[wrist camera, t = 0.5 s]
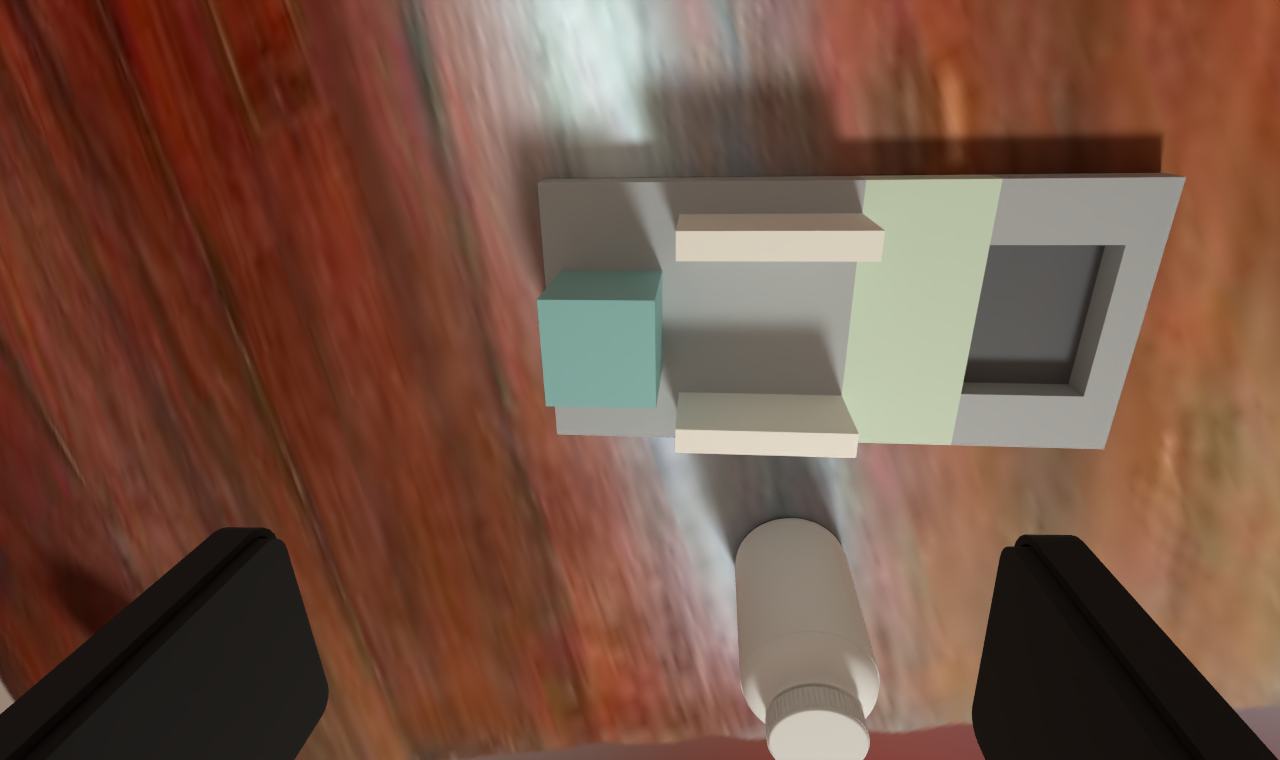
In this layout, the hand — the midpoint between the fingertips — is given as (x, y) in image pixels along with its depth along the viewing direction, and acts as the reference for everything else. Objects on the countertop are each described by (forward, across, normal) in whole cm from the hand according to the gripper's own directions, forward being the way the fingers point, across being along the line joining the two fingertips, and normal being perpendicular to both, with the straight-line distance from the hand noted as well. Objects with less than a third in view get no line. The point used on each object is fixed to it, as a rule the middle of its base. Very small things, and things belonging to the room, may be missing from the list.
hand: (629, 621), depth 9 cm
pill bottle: (+34, -7, +24) cm, 42 cm away
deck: (+33, -8, +5) cm, 34 cm away
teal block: (+31, +4, +5) cm, 32 cm away
